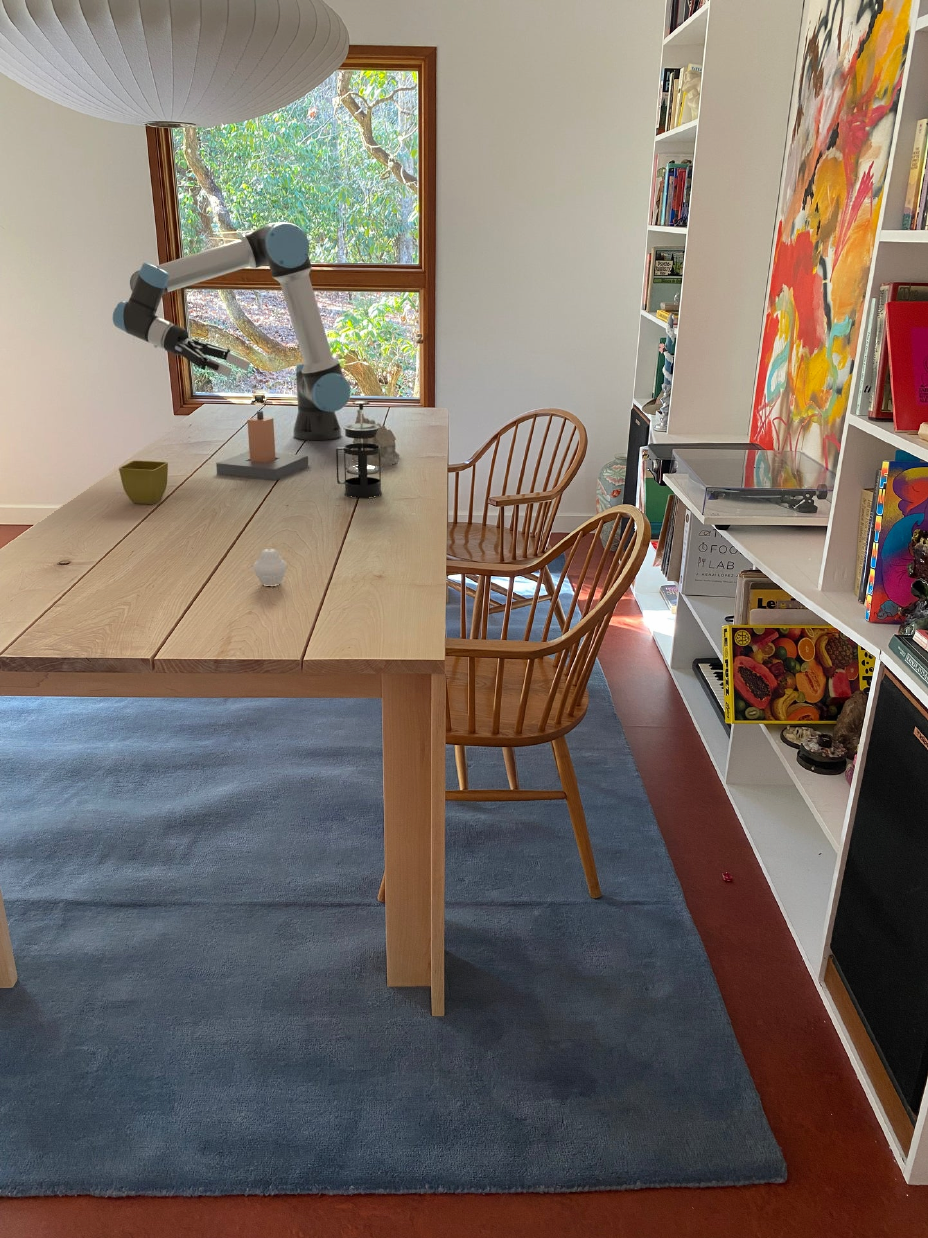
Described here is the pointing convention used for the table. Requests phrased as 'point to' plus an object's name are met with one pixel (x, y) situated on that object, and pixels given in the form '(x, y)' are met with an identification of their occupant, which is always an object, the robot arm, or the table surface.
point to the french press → (361, 460)
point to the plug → (261, 439)
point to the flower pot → (144, 480)
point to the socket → (262, 466)
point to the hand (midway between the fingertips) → (239, 369)
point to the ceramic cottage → (382, 439)
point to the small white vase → (270, 567)
